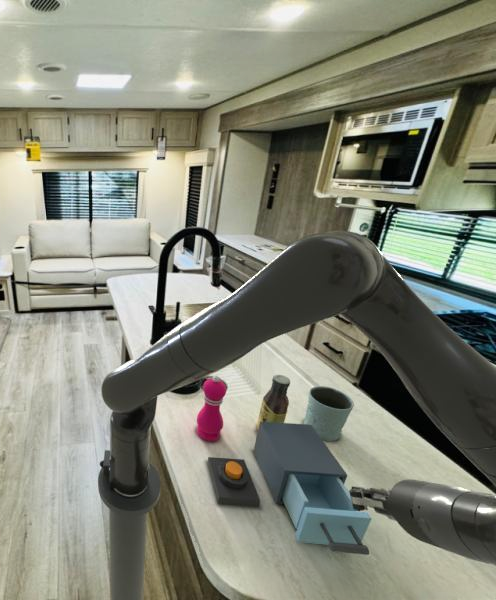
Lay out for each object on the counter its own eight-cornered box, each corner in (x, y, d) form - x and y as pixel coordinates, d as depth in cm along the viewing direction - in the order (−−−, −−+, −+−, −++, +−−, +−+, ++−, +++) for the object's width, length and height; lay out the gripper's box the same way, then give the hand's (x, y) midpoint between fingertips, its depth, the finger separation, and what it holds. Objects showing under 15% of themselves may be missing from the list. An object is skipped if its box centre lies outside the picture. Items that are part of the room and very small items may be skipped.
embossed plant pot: (342, 427, 92) (353, 394, 88) (342, 449, 85) (354, 415, 80) (302, 413, 98) (311, 381, 94) (298, 433, 90) (308, 400, 86)
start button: (227, 479, 74) (228, 473, 73) (223, 465, 77) (224, 460, 76) (243, 480, 73) (244, 474, 72) (238, 467, 76) (239, 461, 76)
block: (217, 503, 72) (219, 491, 70) (207, 463, 82) (208, 451, 80) (258, 507, 71) (261, 495, 69) (242, 465, 81) (245, 454, 79)
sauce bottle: (254, 424, 94) (266, 368, 87) (277, 428, 92) (291, 372, 85) (257, 440, 88) (270, 382, 81) (281, 445, 86) (297, 387, 79)
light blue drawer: (375, 576, 58) (391, 545, 54) (309, 568, 59) (321, 539, 56) (320, 485, 74) (330, 458, 71) (270, 481, 76) (277, 454, 72)
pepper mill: (196, 441, 89) (204, 383, 81) (194, 422, 95) (200, 367, 88) (223, 444, 87) (233, 385, 80) (218, 425, 94) (227, 369, 87)
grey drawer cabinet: (334, 508, 70) (347, 475, 66) (275, 503, 71) (285, 470, 67) (302, 455, 83) (311, 424, 80) (253, 451, 85) (259, 421, 81)
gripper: (496, 488, 40) (391, 472, 56) (383, 479, 41) (312, 466, 57) (524, 560, 37) (404, 522, 53) (401, 548, 38) (321, 515, 54)
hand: (356, 493), depth 55 cm, fingers closed
